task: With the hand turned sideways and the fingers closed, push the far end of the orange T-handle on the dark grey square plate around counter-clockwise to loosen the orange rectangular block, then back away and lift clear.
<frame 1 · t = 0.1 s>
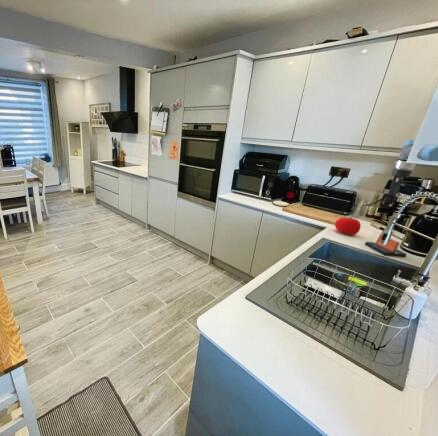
hand: (387, 205, 140), 26 cm above the counter, tool pointing down, fingers open, 13 cm apart
orange rectangular block: (387, 242, 142), point 5 cm above the counter, hinge at 0.0°
dark grey square plate: (384, 250, 144), on the counter
tomato: (344, 233, 168), on the counter
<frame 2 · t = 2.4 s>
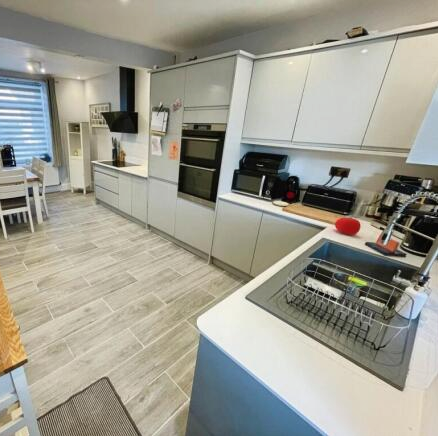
hand: (412, 215, 139), 22 cm above the counter, tool horizontal, fingers open, 13 cm apart
nothing on the counter moved.
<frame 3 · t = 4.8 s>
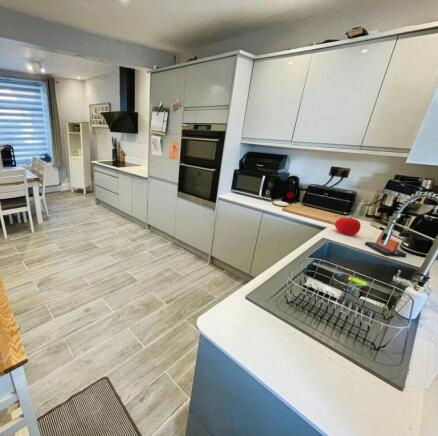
hand: (400, 234, 143), 10 cm above the counter, tool horizontal, fingers closed
nothing on the counter moved.
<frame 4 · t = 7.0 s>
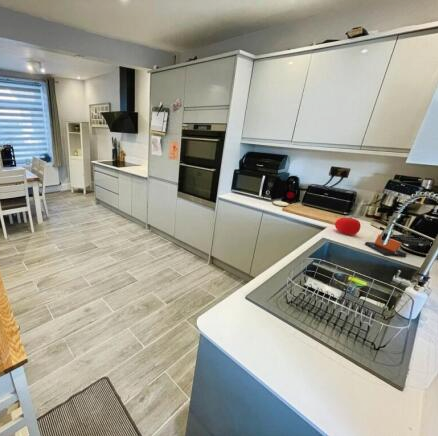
hand: (384, 238, 145), 7 cm above the counter, tool horizontal, fingers closed
orange rectangular block: (387, 242, 142), point 5 cm above the counter, hinge at 15.8°, touching gripper
everything else where it was.
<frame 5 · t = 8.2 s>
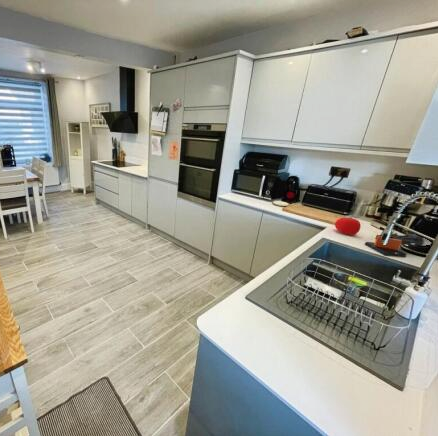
hand: (377, 237, 145), 7 cm above the counter, tool horizontal, fingers closed
orange rectangular block: (387, 242, 142), point 5 cm above the counter, hinge at 69.1°, touching gripper
everything else where it was.
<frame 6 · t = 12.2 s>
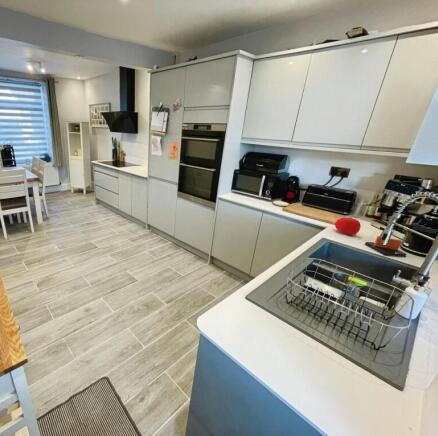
hand: (404, 226, 142), 15 cm above the counter, tool horizontal, fingers closed
orange rectangular block: (387, 242, 142), point 5 cm above the counter, hinge at 69.9°
everything else where it was.
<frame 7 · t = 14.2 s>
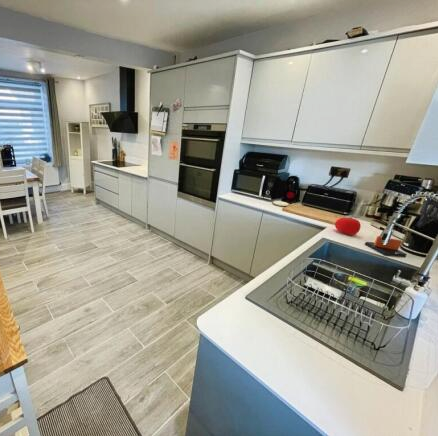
hand: (420, 226, 133), 19 cm above the counter, tool tilted 45°, fingers closed
nothing on the counter moved.
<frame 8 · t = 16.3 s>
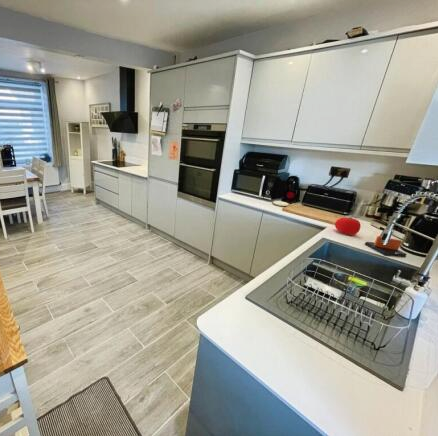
hand: (430, 212, 132), 26 cm above the counter, tool pointing down, fingers closed
nothing on the counter moved.
at the end: orange rectangular block at +70° (first picture: +0°); tomato moved 0.2 cm from its start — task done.
